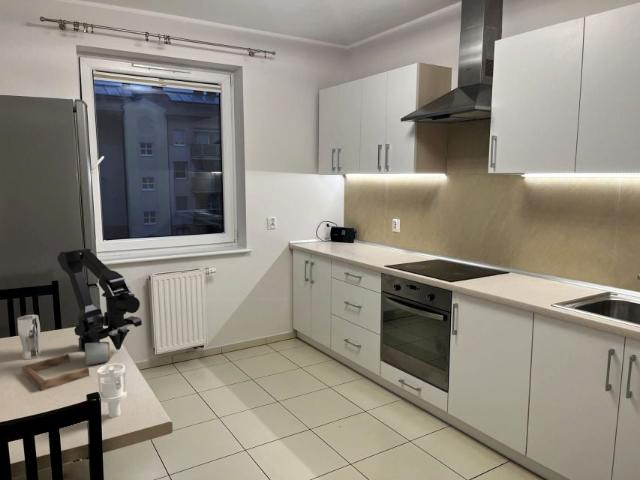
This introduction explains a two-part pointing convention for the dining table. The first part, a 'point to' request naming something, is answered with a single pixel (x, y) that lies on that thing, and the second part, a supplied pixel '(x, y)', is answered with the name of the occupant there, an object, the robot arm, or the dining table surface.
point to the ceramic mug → (97, 352)
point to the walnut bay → (56, 381)
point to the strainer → (112, 387)
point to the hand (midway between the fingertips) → (118, 349)
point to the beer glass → (29, 336)
